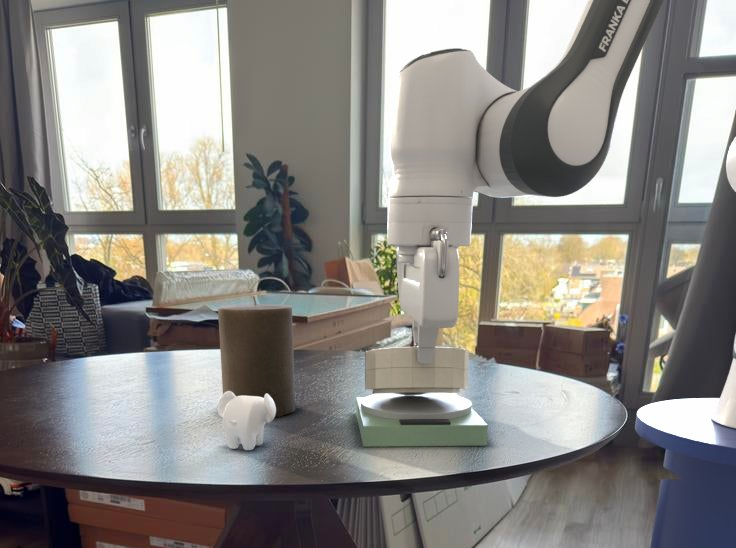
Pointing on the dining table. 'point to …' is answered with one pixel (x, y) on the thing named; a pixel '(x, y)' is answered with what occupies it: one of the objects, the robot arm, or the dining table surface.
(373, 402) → the scale
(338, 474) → the dining table surface
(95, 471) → the dining table surface
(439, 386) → the bowl
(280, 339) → the pillar candle
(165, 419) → the dining table surface
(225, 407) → the elephant figurine
